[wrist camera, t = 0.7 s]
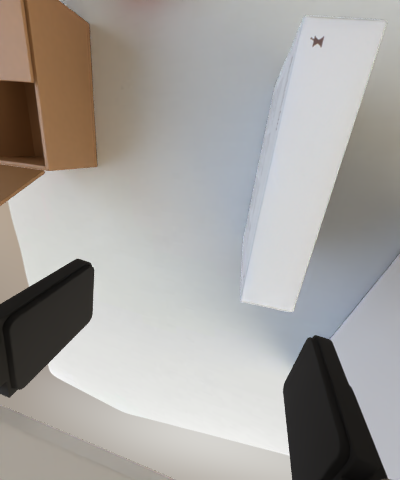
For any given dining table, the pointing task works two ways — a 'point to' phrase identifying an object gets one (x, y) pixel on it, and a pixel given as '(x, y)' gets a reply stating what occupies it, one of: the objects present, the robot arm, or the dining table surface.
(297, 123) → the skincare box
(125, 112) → the dining table surface
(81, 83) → the open shipping carton
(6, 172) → the flap
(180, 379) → the dining table surface
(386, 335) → the packaging
